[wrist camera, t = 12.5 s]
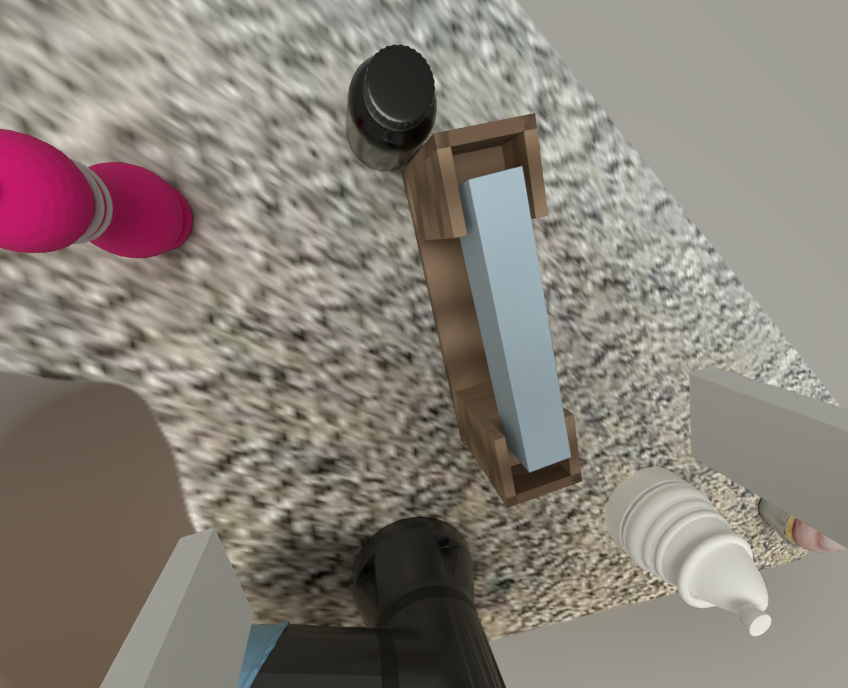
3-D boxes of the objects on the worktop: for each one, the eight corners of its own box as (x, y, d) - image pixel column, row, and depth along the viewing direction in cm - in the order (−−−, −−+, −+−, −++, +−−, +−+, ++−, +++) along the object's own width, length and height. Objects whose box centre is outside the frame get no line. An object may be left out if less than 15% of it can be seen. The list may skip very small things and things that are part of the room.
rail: (542, 431, 39) (571, 457, 34) (505, 444, 38) (529, 472, 34) (494, 177, 32) (522, 166, 27) (449, 189, 31) (468, 179, 27)
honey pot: (603, 554, 57) (716, 686, 40) (604, 477, 54) (729, 585, 37) (679, 533, 59) (817, 649, 42) (685, 458, 56) (837, 551, 39)
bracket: (522, 421, 49) (584, 480, 36) (461, 440, 48) (504, 508, 35) (476, 153, 40) (538, 112, 28) (401, 169, 39) (430, 134, 26)
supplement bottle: (429, 121, 38) (467, 68, 27) (396, 185, 39) (420, 160, 28) (366, 77, 36) (379, 0, 25) (333, 146, 37) (331, 101, 26)
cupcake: (807, 495, 63) (890, 539, 54) (766, 536, 64) (841, 587, 54) (783, 463, 60) (866, 504, 51) (740, 507, 61) (814, 555, 51)
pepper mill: (183, 269, 37) (20, 295, 18) (98, 235, 35) (-190, 222, 16) (210, 197, 36) (68, 143, 17) (124, 157, 34) (-149, 44, 15)
